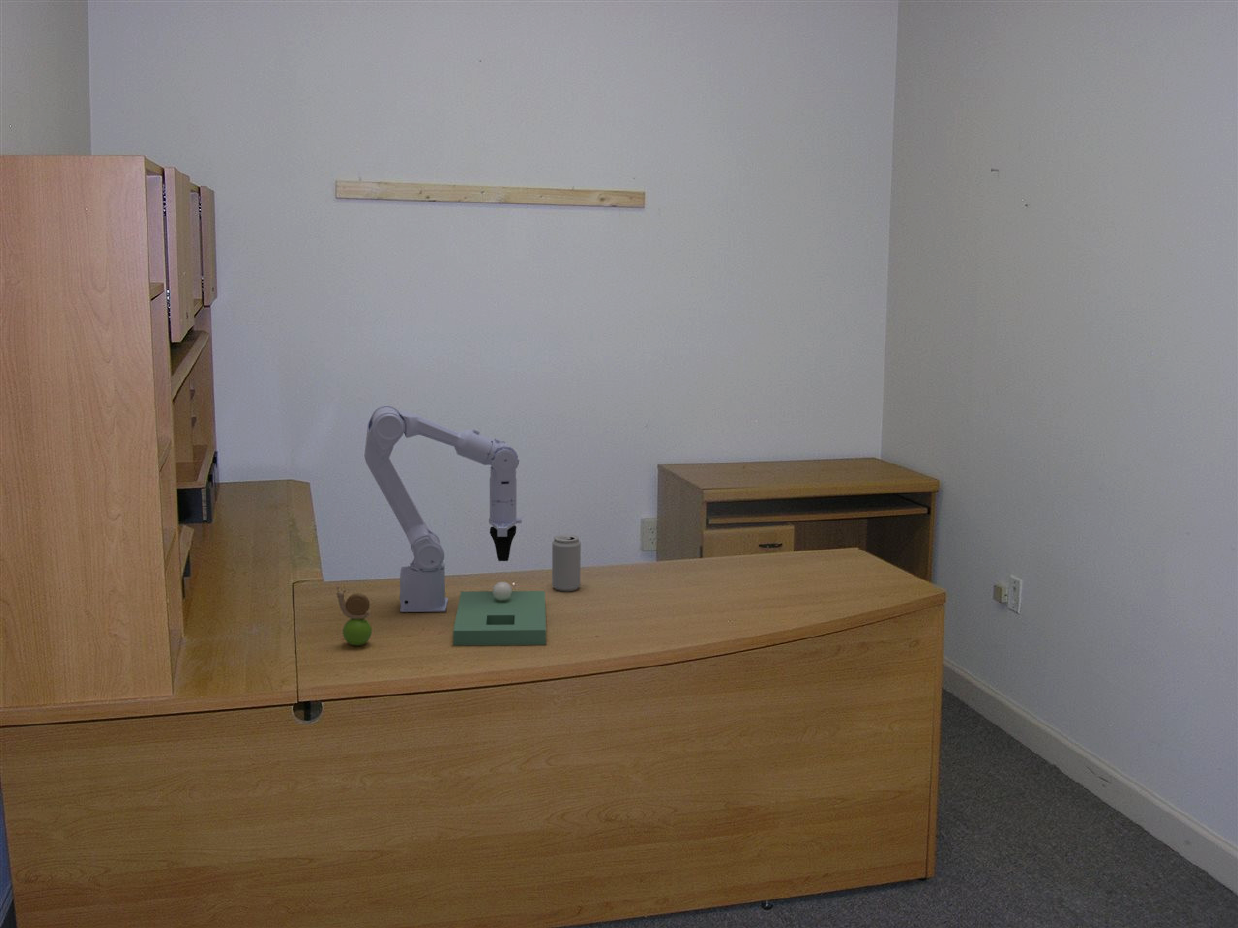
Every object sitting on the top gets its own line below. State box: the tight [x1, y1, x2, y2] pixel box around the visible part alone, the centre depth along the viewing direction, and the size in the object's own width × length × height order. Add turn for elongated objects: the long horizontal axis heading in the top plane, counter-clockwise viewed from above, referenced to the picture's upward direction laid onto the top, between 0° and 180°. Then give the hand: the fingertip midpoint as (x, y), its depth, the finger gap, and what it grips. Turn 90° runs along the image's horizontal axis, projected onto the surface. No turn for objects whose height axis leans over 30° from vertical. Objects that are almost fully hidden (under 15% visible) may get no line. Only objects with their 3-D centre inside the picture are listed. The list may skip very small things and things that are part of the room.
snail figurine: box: [335, 585, 373, 646], centre depth 212 cm, size 5×6×12 cm
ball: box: [492, 581, 513, 601], centre depth 231 cm, size 4×4×4 cm
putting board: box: [452, 590, 547, 646], centre depth 226 cm, size 18×24×3 cm
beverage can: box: [551, 534, 582, 592], centre depth 248 cm, size 6×6×12 cm
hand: (503, 560), depth 238 cm, fingers closed
